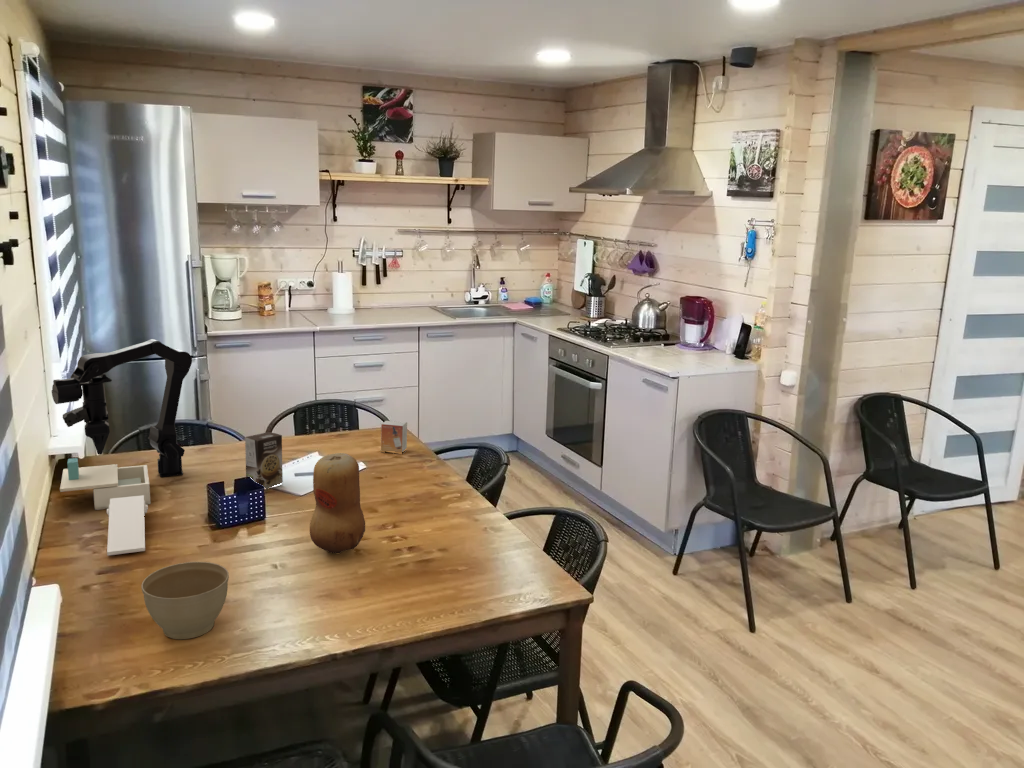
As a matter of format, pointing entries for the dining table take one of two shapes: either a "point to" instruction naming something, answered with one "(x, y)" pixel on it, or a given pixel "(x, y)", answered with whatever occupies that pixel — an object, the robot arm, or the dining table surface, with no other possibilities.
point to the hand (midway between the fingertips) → (99, 449)
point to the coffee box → (264, 458)
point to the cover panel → (88, 476)
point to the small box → (393, 436)
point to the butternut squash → (337, 504)
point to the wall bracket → (126, 525)
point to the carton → (124, 486)
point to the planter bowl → (186, 597)
